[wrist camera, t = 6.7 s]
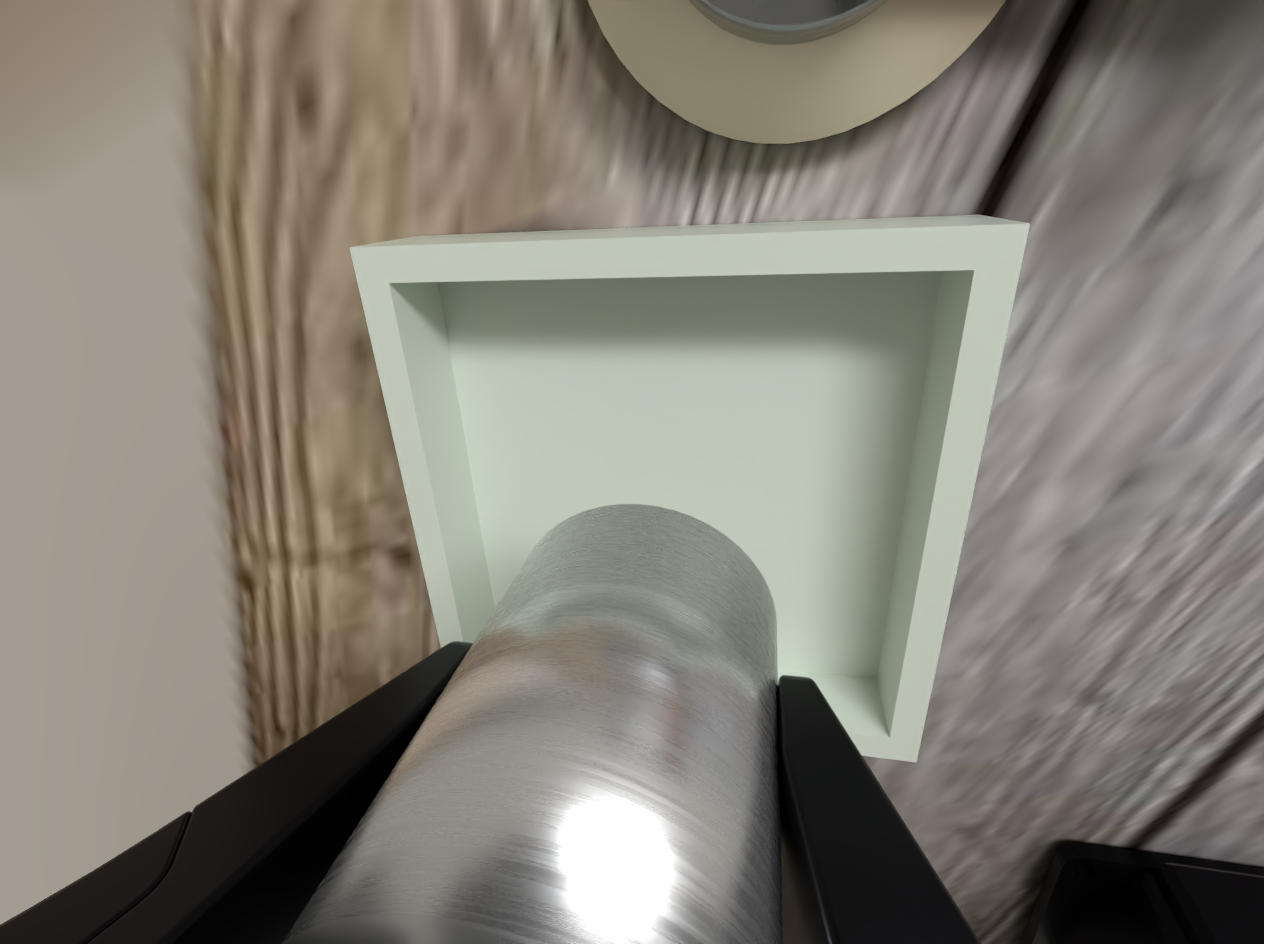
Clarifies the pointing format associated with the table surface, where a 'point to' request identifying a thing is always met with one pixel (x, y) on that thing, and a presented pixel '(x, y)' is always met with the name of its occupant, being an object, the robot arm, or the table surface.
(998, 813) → the table surface
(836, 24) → the crank
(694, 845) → the pin
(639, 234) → the tray
